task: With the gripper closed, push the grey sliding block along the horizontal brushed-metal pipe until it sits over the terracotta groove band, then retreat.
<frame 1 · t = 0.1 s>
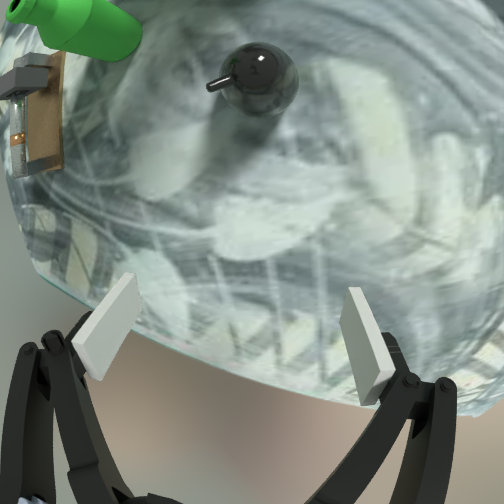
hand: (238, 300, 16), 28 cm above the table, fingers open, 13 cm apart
grey sliding block: (18, 84, 26), point 8 cm above the table, slide at -6.0 cm
bottle: (121, 40, 31), on the table
pipe stand: (45, 112, 36), on the table
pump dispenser: (259, 87, 35), on the table
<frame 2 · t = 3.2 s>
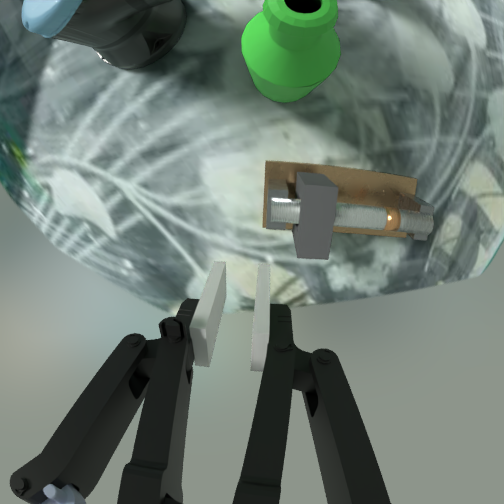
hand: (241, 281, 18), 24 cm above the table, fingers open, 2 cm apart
grey sliding block: (312, 212, 33), point 8 cm above the table, slide at -6.0 cm
bottle: (283, 75, 33), on the table
pipe stand: (342, 199, 40), on the table
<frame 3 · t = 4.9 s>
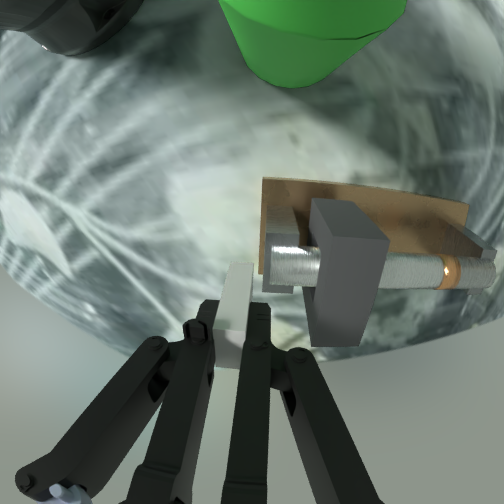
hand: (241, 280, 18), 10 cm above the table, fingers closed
grey sliding block: (336, 267, 20), point 8 cm above the table, slide at -6.0 cm
bottle: (289, 48, 20), on the table
pipe stand: (373, 233, 27), on the table
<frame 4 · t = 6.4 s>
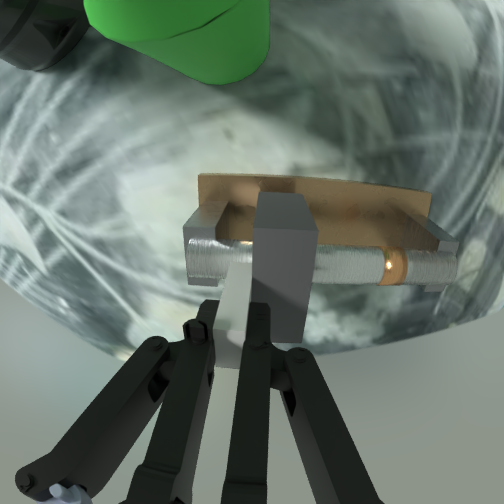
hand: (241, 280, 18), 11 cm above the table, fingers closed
grey sliding block: (279, 261, 20), point 8 cm above the table, slide at -4.4 cm, touching gripper
bottle: (222, 45, 20), on the table
pipe stand: (319, 226, 27), on the table
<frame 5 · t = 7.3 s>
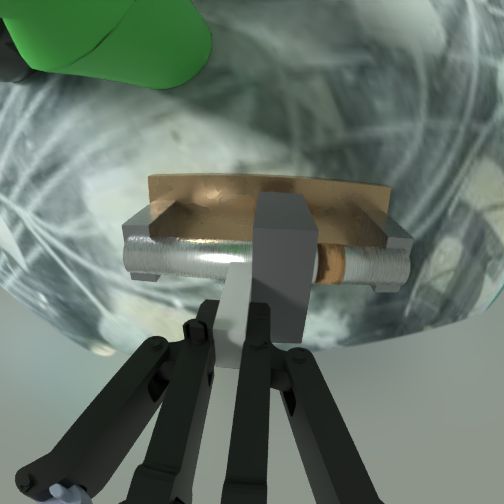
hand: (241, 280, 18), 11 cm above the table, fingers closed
grey sliding block: (279, 261, 20), point 8 cm above the table, slide at 0.8 cm, touching gripper
bottle: (170, 51, 20), on the table
pipe stand: (268, 223, 28), on the table
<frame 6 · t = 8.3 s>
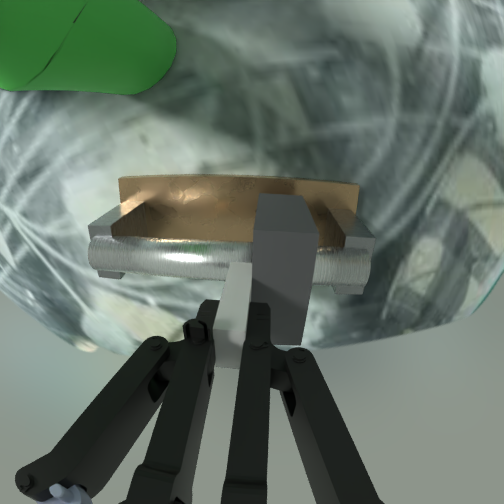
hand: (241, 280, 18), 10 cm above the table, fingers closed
grey sliding block: (279, 263, 20), point 8 cm above the table, slide at 4.4 cm, touching gripper
bottle: (139, 56, 21), on the table
pipe stand: (233, 223, 28), on the table
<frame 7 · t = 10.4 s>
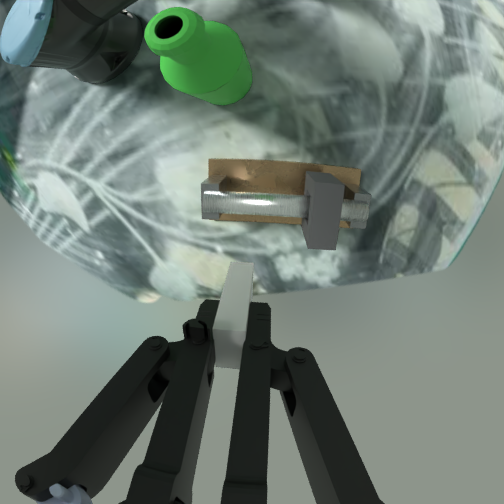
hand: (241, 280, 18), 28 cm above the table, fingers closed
grey sliding block: (320, 207, 36), point 8 cm above the table, slide at 4.5 cm
bottle: (224, 79, 36), on the table
pipe stand: (284, 191, 43), on the table
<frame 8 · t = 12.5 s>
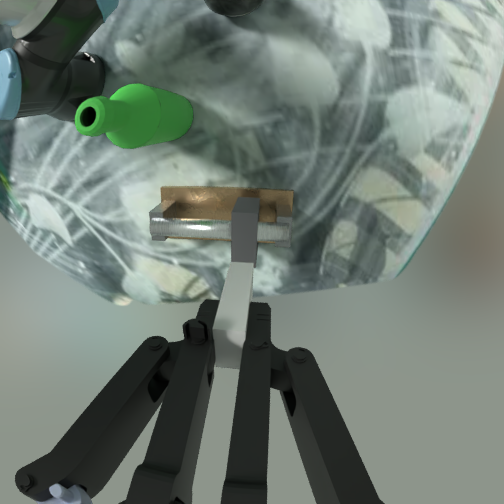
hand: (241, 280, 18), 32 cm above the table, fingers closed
grey sliding block: (246, 230, 43), point 8 cm above the table, slide at 4.5 cm
bottle: (171, 117, 43), on the table
pipe stand: (225, 213, 50), on the table
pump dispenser: (237, 2, 33), on the table
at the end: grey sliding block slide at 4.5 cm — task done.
